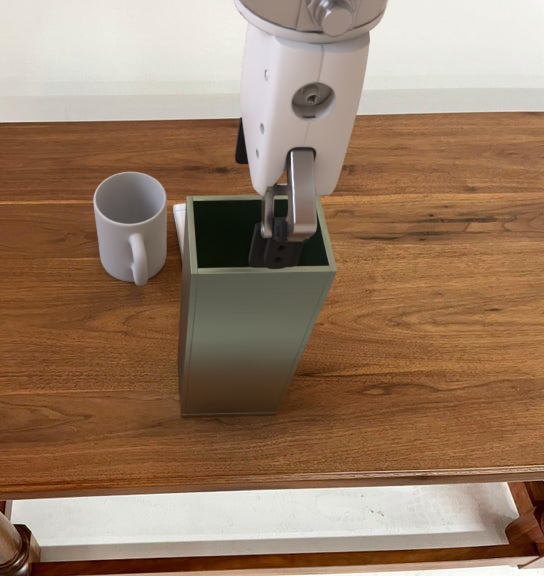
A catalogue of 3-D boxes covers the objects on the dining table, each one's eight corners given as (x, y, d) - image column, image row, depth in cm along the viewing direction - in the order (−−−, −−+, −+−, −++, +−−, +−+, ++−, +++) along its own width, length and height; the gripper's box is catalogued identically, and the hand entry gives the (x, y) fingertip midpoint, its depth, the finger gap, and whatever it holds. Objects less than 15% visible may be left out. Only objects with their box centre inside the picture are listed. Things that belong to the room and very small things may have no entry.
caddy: (268, 354, 69) (319, 193, 47) (276, 415, 65) (337, 270, 43) (177, 355, 69) (186, 195, 47) (180, 417, 65) (191, 273, 43)
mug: (96, 235, 79) (88, 175, 70) (160, 226, 80) (160, 166, 71) (108, 311, 73) (101, 256, 64) (177, 300, 73) (180, 244, 64)
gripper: (444, 84, 24) (338, 311, 38) (355, -113, 34) (297, 126, 48) (256, 86, 24) (220, 313, 38) (221, -111, 34) (203, 128, 48)
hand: (263, 209), depth 43 cm, fingers open, 9 cm apart
